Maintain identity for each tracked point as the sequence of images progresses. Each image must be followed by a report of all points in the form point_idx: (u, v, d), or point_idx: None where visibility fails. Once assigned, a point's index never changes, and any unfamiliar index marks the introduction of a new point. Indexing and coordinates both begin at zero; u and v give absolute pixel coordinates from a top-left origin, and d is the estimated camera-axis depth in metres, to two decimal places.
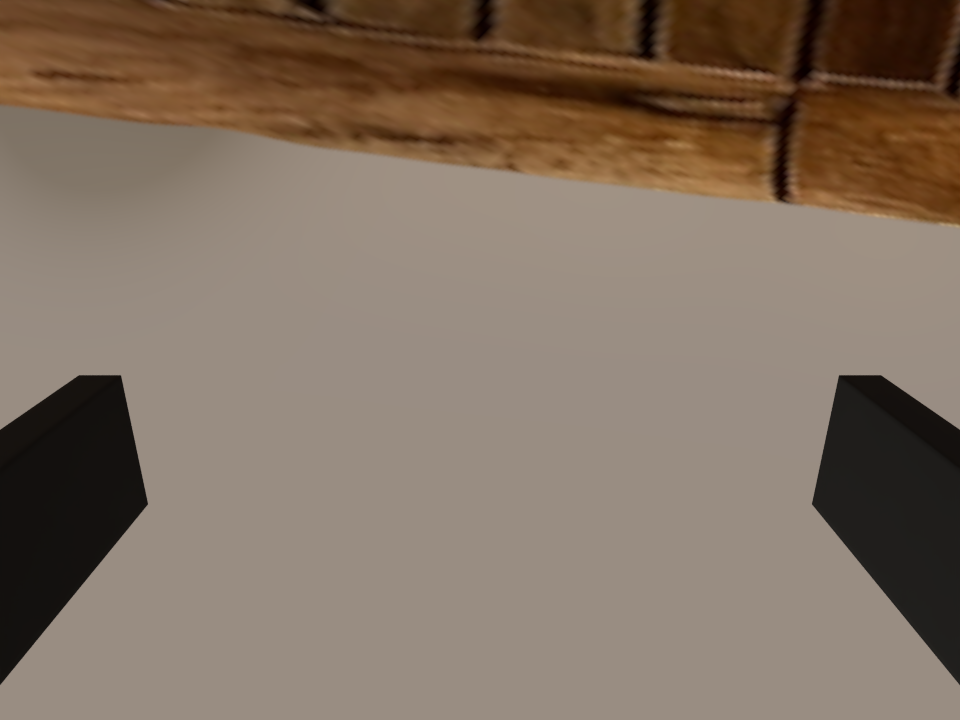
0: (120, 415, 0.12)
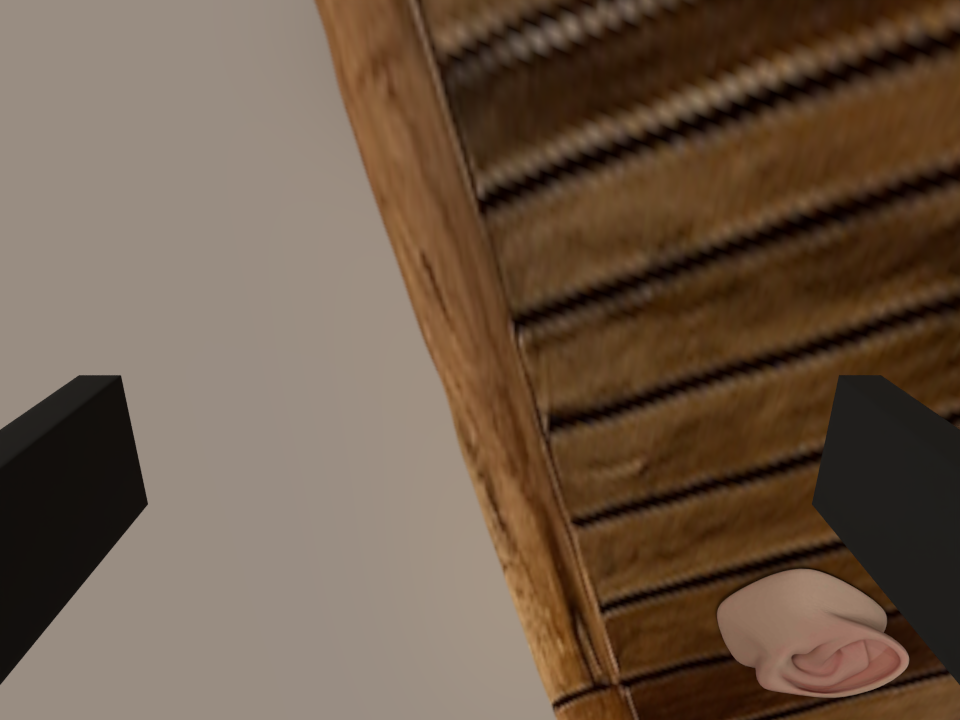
0: (120, 416, 0.12)
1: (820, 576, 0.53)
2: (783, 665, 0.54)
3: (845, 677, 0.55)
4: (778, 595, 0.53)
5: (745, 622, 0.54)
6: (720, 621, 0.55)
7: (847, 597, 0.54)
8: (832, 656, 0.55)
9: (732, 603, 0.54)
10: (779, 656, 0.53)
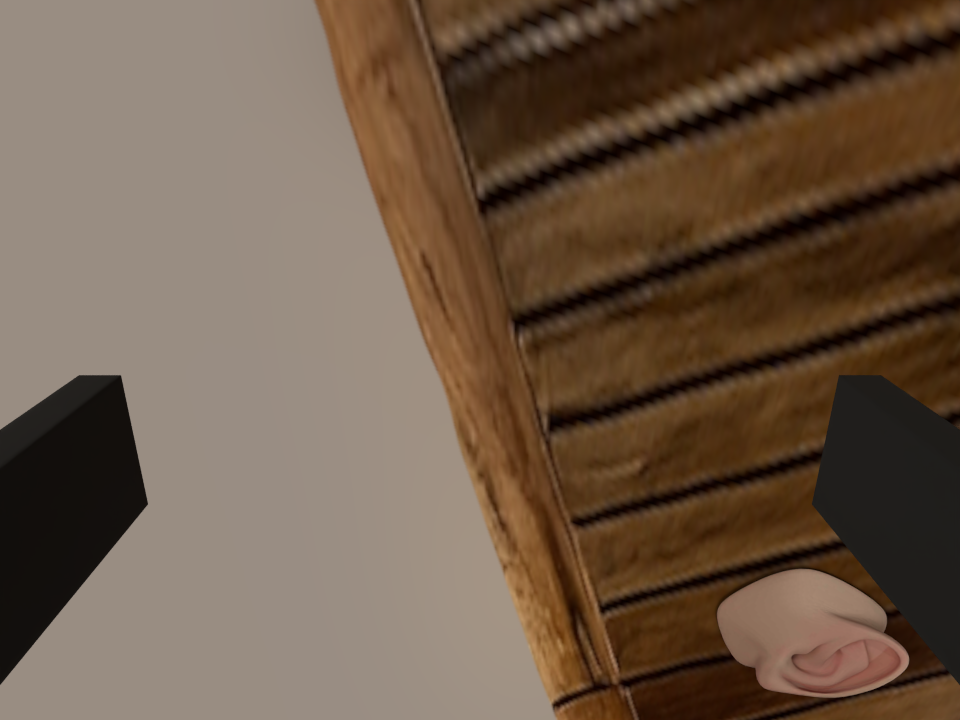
0: (120, 416, 0.12)
1: (820, 576, 0.53)
2: (783, 665, 0.54)
3: (845, 677, 0.55)
4: (778, 595, 0.53)
5: (745, 622, 0.54)
6: (720, 621, 0.55)
7: (847, 597, 0.54)
8: (832, 656, 0.55)
9: (732, 603, 0.54)
10: (779, 656, 0.53)
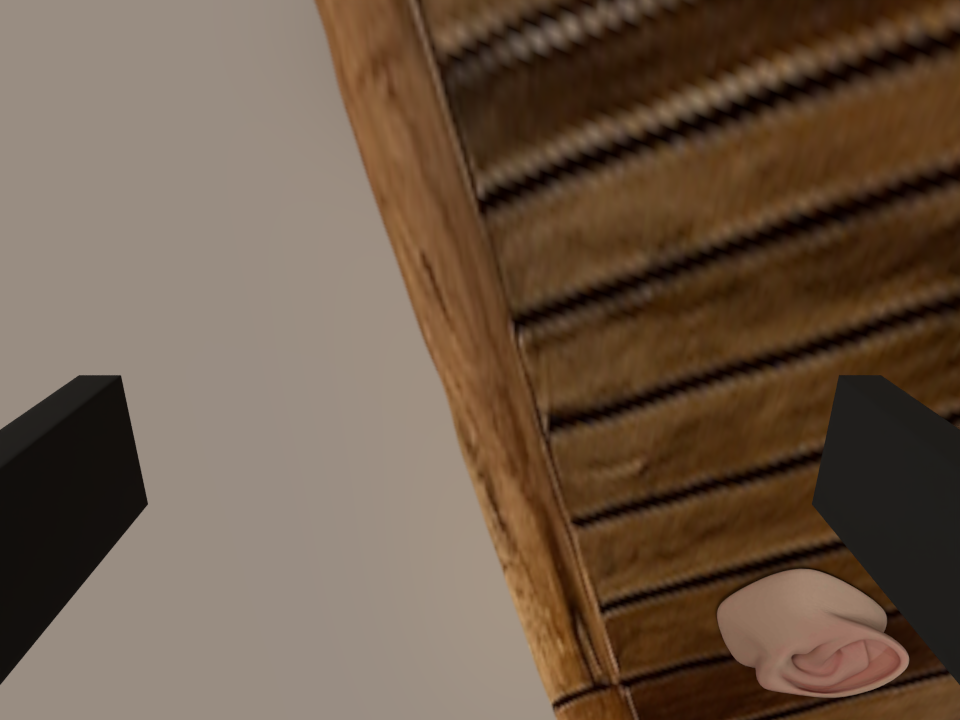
0: (120, 416, 0.12)
1: (820, 576, 0.53)
2: (783, 665, 0.54)
3: (845, 677, 0.55)
4: (778, 595, 0.53)
5: (745, 622, 0.54)
6: (720, 621, 0.55)
7: (847, 597, 0.54)
8: (832, 656, 0.55)
9: (732, 603, 0.54)
10: (779, 656, 0.53)
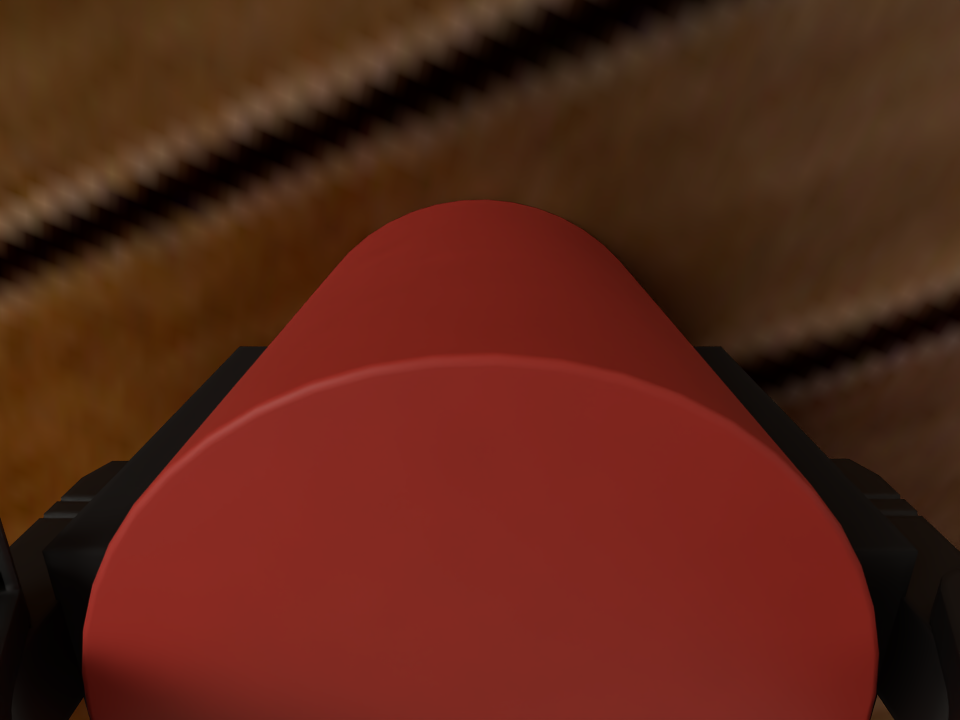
0: None
1: None
2: None
3: None
4: None
5: None
6: None
7: None
8: None
9: None
10: None
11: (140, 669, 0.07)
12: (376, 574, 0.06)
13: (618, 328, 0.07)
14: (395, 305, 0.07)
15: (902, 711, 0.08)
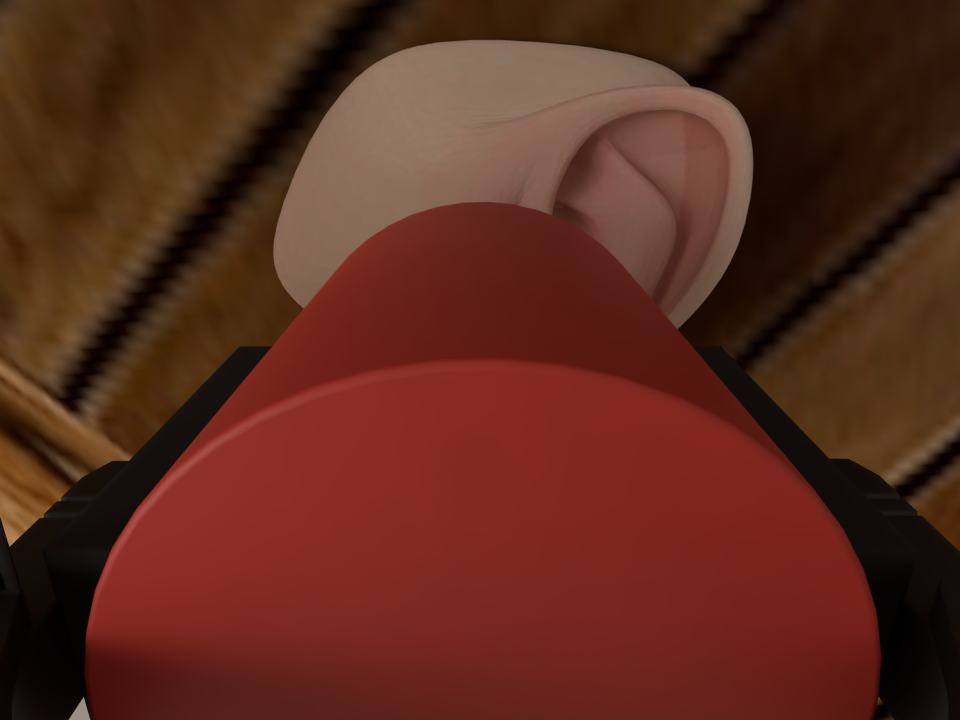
0: None
1: (429, 51, 0.19)
2: None
3: (643, 280, 0.20)
4: (349, 153, 0.20)
5: (325, 266, 0.21)
6: (300, 302, 0.22)
7: (532, 70, 0.19)
8: None
9: (282, 240, 0.21)
10: None
11: (145, 673, 0.07)
12: (379, 579, 0.06)
13: (620, 332, 0.07)
14: (397, 309, 0.07)
15: (901, 711, 0.08)
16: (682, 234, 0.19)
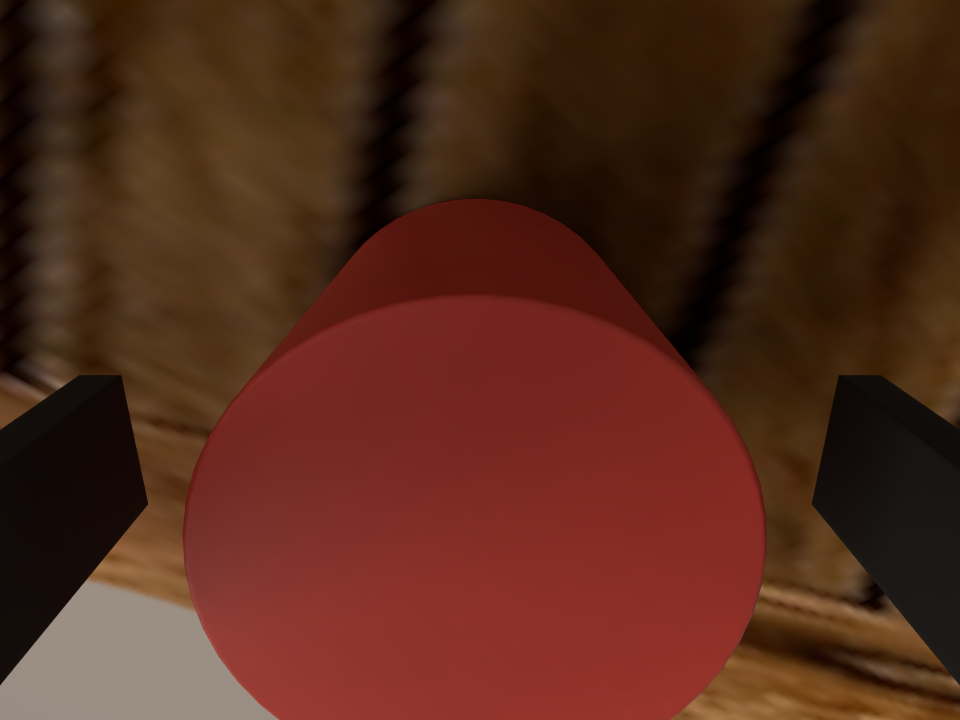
0: (120, 416, 0.12)
1: None
2: None
3: None
4: None
5: None
6: None
7: None
8: None
9: None
10: None
11: (227, 533, 0.09)
12: (401, 458, 0.09)
13: (576, 285, 0.09)
14: (412, 269, 0.10)
15: None
16: None
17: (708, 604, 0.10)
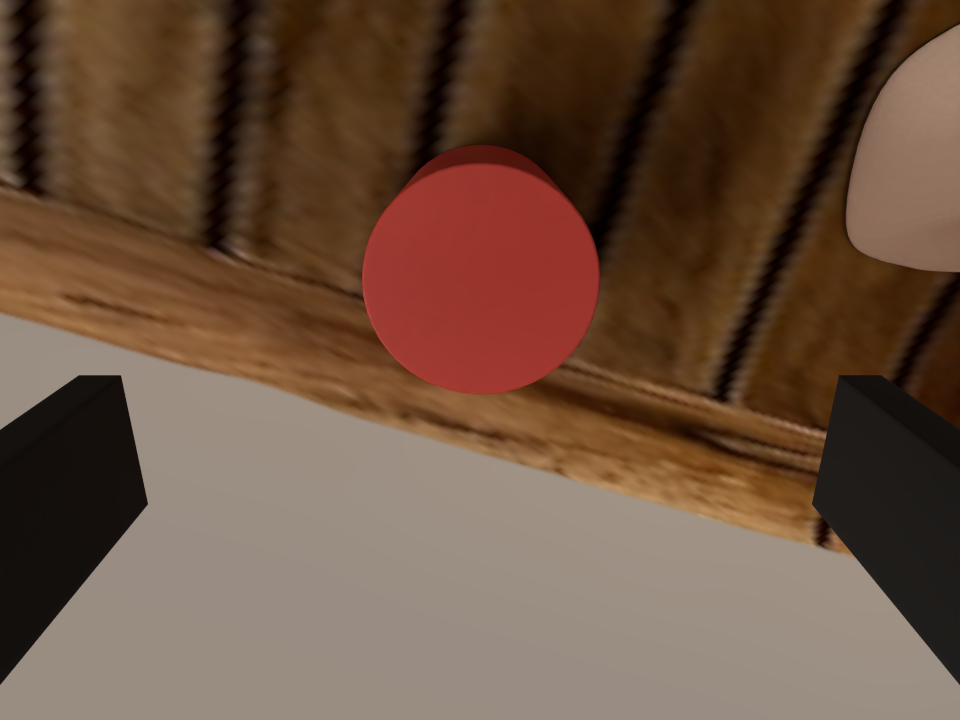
0: (120, 416, 0.12)
1: (932, 49, 0.28)
2: None
3: None
4: (901, 139, 0.29)
5: (903, 220, 0.30)
6: (876, 254, 0.31)
7: None
8: None
9: (858, 219, 0.30)
10: None
11: (381, 265, 0.23)
12: (451, 231, 0.22)
13: (522, 166, 0.23)
14: (454, 161, 0.23)
15: None
16: None
17: (577, 299, 0.23)
